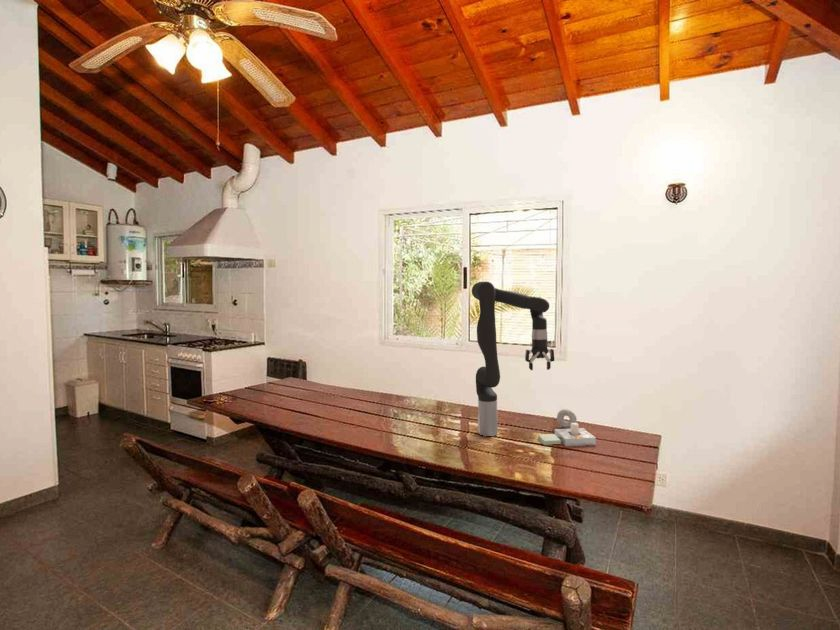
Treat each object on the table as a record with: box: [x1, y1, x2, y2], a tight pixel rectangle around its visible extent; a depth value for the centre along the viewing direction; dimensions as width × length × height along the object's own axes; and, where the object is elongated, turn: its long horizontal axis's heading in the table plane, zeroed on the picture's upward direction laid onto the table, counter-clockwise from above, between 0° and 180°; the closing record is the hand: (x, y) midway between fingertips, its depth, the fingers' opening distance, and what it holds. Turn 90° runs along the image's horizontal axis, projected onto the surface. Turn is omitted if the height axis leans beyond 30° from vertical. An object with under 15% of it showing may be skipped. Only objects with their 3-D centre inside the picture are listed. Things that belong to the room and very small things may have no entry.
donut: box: [556, 408, 578, 429], centre depth 230 cm, size 10×4×10 cm, turn 51°
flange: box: [554, 427, 597, 447], centre depth 212 cm, size 14×14×4 cm
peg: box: [570, 422, 579, 435], centre depth 212 cm, size 3×3×8 cm
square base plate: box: [537, 433, 562, 446], centre depth 211 cm, size 8×9×2 cm
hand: (539, 369), depth 229 cm, fingers open, 8 cm apart
